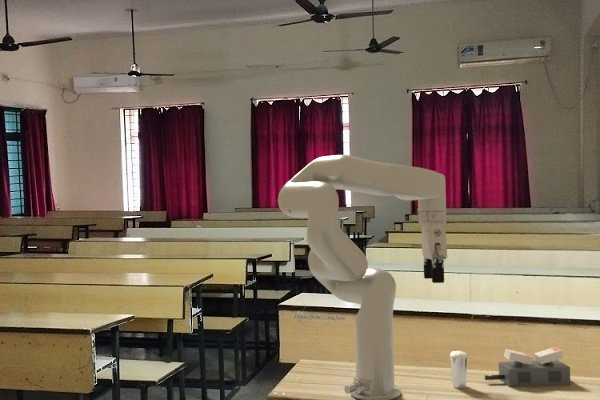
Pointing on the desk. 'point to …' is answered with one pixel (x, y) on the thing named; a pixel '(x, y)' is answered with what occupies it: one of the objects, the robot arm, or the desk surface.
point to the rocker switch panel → (532, 374)
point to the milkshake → (459, 368)
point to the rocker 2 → (548, 355)
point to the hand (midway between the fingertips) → (433, 280)
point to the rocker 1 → (518, 356)
